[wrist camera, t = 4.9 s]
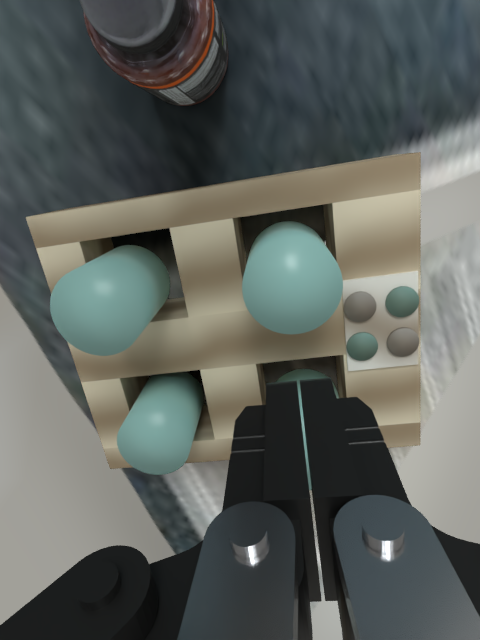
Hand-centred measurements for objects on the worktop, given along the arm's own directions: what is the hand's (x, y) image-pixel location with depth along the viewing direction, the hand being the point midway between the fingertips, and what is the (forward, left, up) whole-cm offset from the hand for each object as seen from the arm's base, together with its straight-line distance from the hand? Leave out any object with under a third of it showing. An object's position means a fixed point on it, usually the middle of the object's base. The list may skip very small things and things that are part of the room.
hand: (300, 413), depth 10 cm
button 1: (+10, -10, -19) cm, 23 cm away
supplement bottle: (-13, -5, -22) cm, 26 cm away
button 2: (0, -10, -16) cm, 19 cm away
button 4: (0, 0, -16) cm, 16 cm away
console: (+5, -4, -22) cm, 23 cm away
